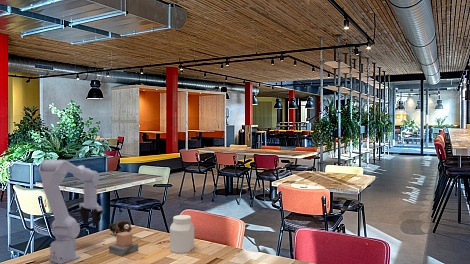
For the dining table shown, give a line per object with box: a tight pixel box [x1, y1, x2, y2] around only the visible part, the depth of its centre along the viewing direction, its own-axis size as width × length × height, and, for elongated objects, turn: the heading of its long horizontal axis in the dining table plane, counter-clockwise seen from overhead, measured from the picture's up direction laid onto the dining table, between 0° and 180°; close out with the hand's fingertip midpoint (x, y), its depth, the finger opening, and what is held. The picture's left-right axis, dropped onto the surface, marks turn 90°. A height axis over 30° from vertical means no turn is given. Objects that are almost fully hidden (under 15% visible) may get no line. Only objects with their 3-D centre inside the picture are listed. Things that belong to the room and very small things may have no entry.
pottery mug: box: [108, 220, 133, 234], centre depth 192 cm, size 12×10×8 cm
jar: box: [169, 214, 195, 254], centre depth 170 cm, size 12×10×15 cm
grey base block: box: [108, 241, 139, 257], centre depth 167 cm, size 9×9×4 cm
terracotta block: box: [115, 232, 133, 247], centre depth 167 cm, size 5×5×5 cm
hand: (90, 224), depth 174 cm, fingers open, 7 cm apart
